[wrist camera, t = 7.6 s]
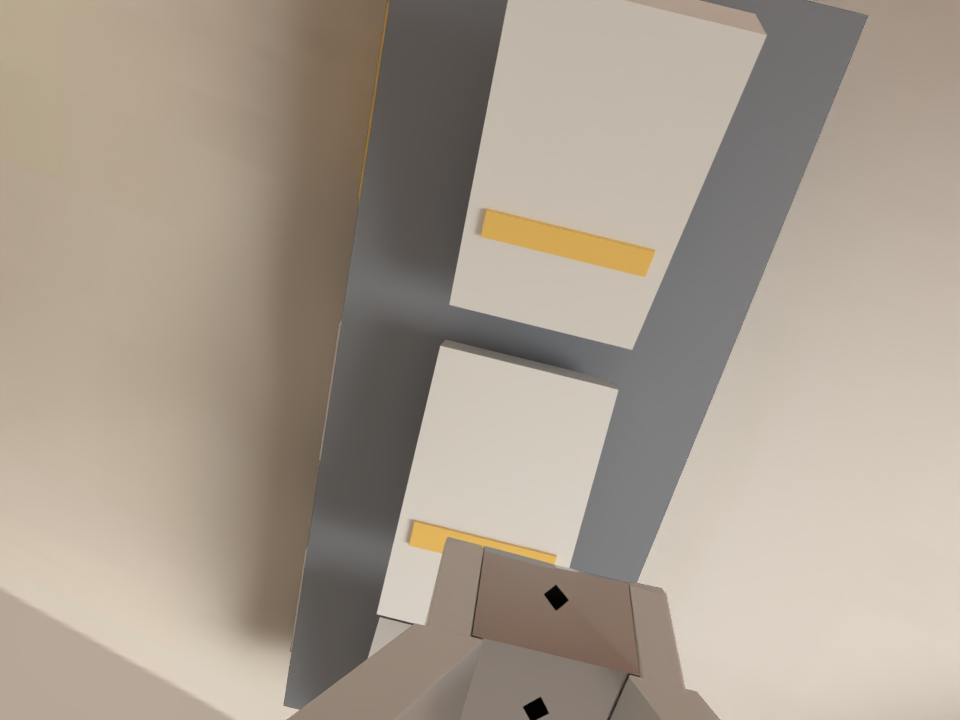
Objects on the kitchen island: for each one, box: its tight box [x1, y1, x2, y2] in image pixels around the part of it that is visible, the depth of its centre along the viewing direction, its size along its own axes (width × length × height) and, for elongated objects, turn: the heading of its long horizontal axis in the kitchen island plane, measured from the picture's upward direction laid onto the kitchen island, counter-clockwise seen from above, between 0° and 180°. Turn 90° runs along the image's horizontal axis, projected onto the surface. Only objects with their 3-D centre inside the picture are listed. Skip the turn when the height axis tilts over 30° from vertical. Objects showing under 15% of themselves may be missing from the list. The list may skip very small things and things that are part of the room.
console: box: [284, 0, 868, 710], centre depth 27 cm, size 32×13×6 cm, turn 167°
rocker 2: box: [377, 339, 618, 625], centre depth 23 cm, size 9×6×2 cm, turn 167°
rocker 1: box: [449, 0, 767, 350], centre depth 19 cm, size 9×6×2 cm, turn 168°
